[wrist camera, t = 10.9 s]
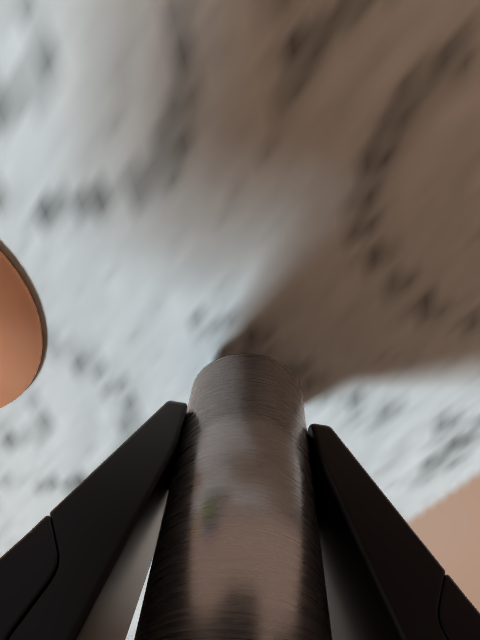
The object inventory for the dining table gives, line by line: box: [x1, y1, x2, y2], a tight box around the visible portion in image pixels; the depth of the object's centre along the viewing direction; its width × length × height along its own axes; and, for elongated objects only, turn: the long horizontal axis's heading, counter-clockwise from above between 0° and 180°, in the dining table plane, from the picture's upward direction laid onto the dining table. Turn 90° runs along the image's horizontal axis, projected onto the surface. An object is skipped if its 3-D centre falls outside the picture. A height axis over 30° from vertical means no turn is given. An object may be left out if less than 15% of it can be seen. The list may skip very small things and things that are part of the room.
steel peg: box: [134, 354, 332, 640], centre depth 7 cm, size 3×3×6 cm
